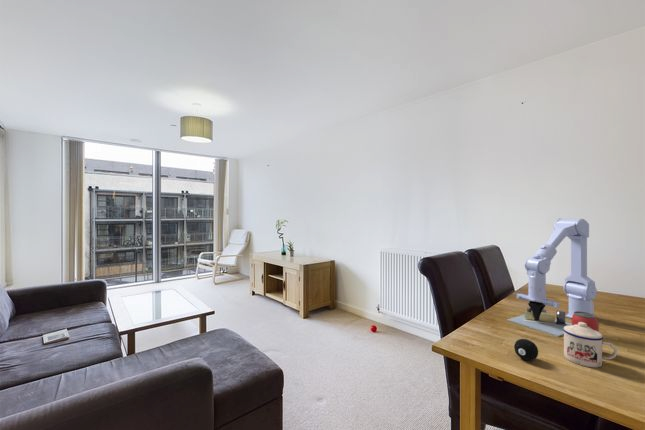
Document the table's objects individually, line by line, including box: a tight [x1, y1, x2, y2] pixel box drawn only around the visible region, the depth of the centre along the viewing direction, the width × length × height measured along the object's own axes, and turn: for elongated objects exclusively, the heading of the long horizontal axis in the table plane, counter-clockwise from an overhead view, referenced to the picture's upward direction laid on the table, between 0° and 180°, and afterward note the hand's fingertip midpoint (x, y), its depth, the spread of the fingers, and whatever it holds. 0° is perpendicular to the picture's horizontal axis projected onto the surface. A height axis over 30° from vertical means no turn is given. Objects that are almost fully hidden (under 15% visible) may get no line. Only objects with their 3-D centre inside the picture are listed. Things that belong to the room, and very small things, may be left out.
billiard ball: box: [513, 338, 539, 361], centre depth 87 cm, size 6×6×6 cm
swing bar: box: [524, 307, 556, 323], centre depth 118 cm, size 10×2×4 cm, turn 61°
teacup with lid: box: [563, 322, 618, 368], centre depth 86 cm, size 12×9×12 cm
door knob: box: [555, 310, 567, 326], centre depth 115 cm, size 4×4×5 cm
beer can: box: [571, 311, 600, 333], centre depth 93 cm, size 7×7×12 cm
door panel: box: [506, 313, 572, 338], centre depth 116 cm, size 19×18×1 cm
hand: (536, 320), depth 116 cm, fingers closed
